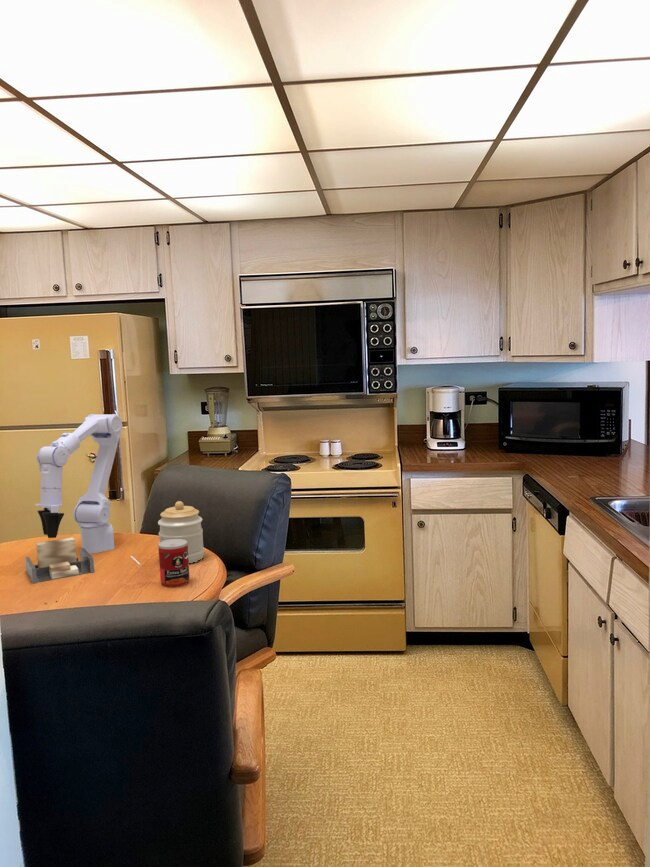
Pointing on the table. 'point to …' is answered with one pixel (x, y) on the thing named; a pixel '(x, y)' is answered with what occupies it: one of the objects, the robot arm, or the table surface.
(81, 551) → the rack
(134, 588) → the table surface
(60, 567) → the offcut upper
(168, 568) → the canned food
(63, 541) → the wooden block
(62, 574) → the offcut lower
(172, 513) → the jar
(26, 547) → the table surface
